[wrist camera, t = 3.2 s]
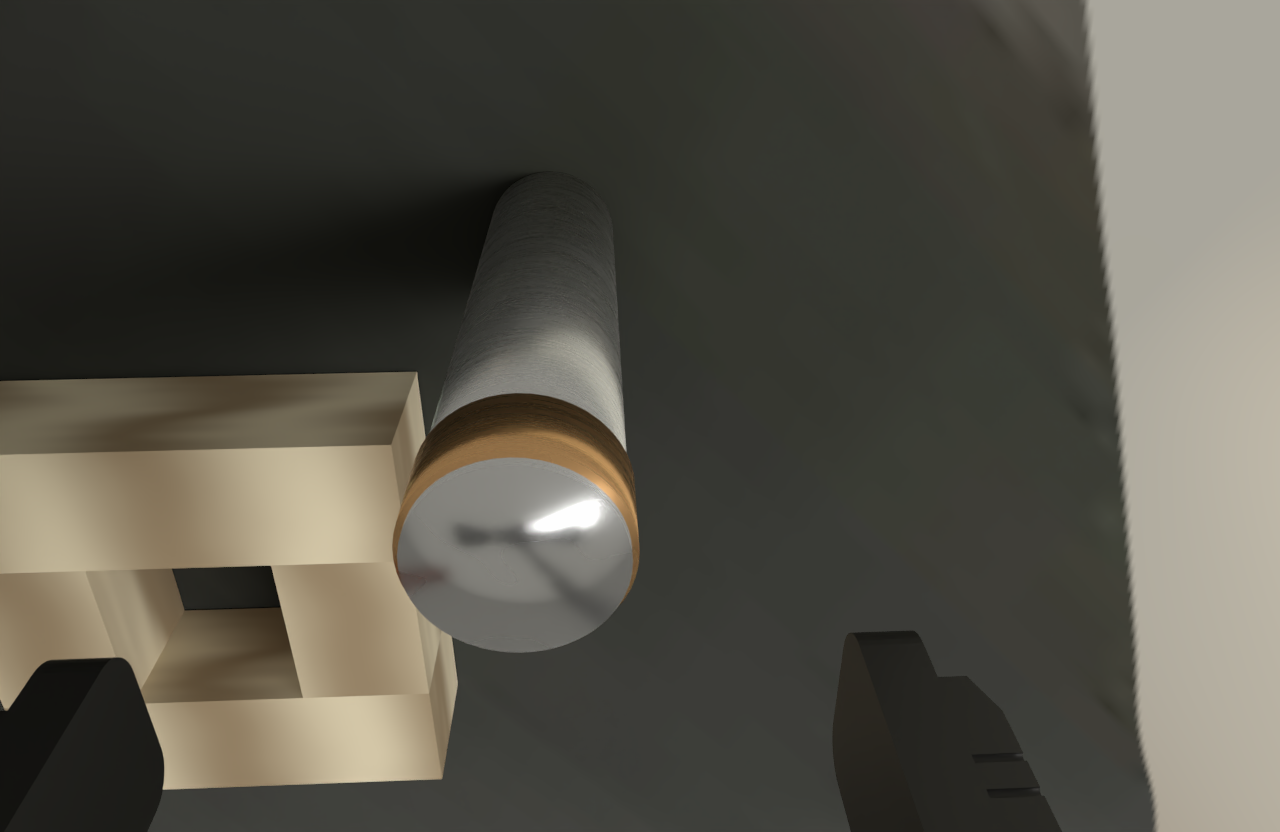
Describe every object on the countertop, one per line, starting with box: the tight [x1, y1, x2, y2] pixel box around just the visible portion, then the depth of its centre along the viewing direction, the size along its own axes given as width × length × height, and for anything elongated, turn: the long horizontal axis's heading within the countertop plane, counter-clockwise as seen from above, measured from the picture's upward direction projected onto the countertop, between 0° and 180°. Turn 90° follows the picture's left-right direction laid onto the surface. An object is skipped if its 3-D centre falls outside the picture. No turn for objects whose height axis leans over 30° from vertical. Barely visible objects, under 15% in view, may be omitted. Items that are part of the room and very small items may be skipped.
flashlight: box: [392, 172, 640, 652], centre depth 19 cm, size 3×3×14 cm
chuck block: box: [0, 372, 458, 790], centre depth 28 cm, size 12×12×4 cm
